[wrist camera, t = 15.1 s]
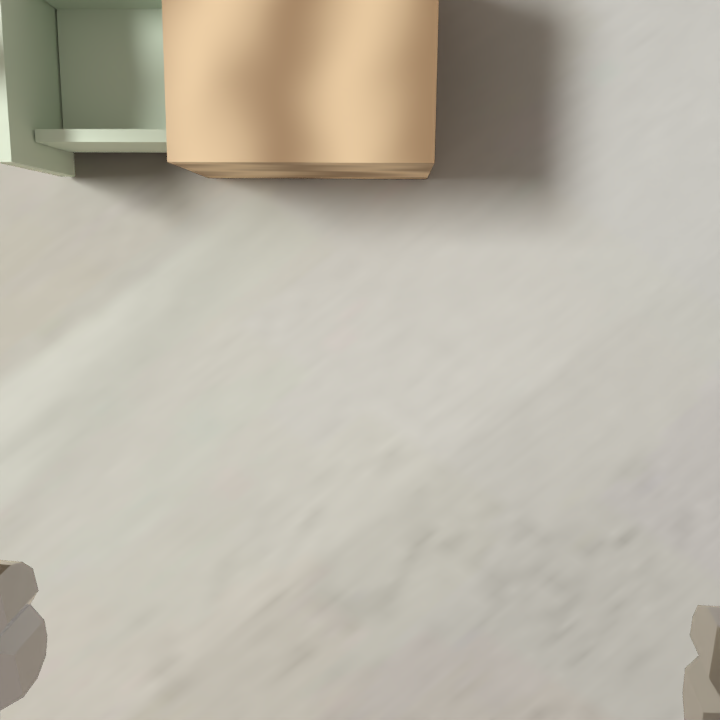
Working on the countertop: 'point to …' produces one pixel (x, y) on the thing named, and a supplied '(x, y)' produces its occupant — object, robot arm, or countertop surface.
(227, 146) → the tan wooden block
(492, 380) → the countertop surface
